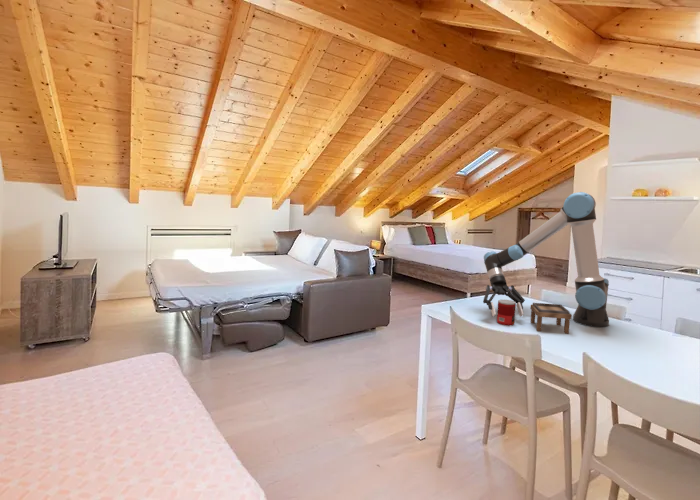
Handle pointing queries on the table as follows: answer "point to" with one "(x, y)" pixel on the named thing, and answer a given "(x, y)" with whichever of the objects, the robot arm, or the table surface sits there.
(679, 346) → the table surface
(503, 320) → the canned food
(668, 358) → the table surface
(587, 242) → the robot arm
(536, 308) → the stool
